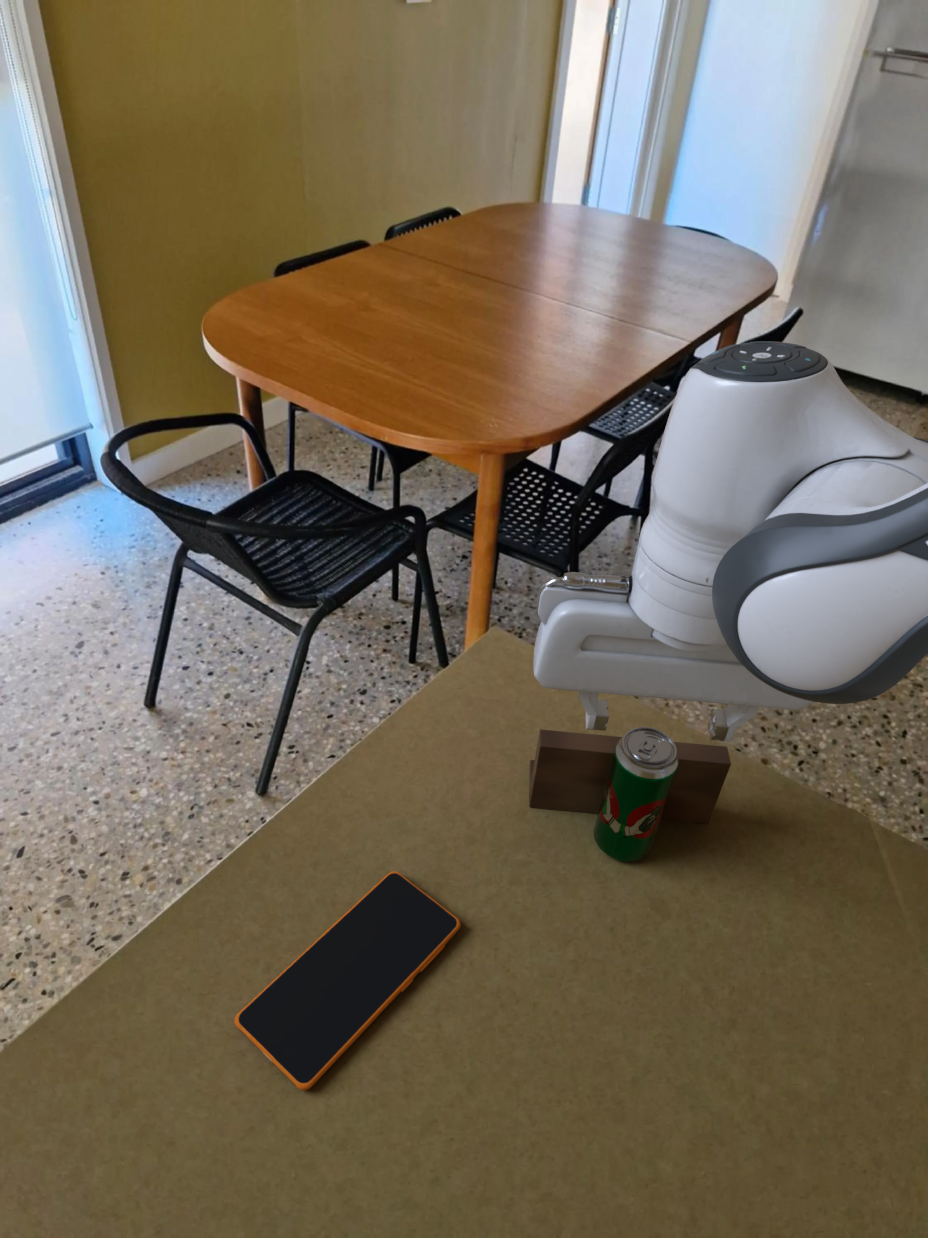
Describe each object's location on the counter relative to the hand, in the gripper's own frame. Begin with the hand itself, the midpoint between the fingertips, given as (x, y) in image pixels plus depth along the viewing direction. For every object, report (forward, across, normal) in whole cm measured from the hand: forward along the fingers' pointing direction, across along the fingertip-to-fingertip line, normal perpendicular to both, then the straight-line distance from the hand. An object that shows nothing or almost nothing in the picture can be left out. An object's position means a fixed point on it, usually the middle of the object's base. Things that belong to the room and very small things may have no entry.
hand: (656, 729), depth 68 cm
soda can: (+14, 0, 0) cm, 14 cm away
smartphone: (+14, -21, -14) cm, 29 cm away
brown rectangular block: (+14, 0, +6) cm, 15 cm away
